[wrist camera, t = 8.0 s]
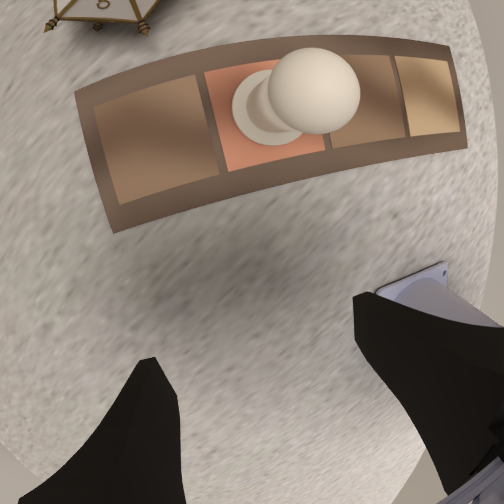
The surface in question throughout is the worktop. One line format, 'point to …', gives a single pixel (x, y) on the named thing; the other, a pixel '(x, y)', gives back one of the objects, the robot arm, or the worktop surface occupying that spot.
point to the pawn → (296, 97)
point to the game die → (103, 12)
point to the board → (240, 147)
